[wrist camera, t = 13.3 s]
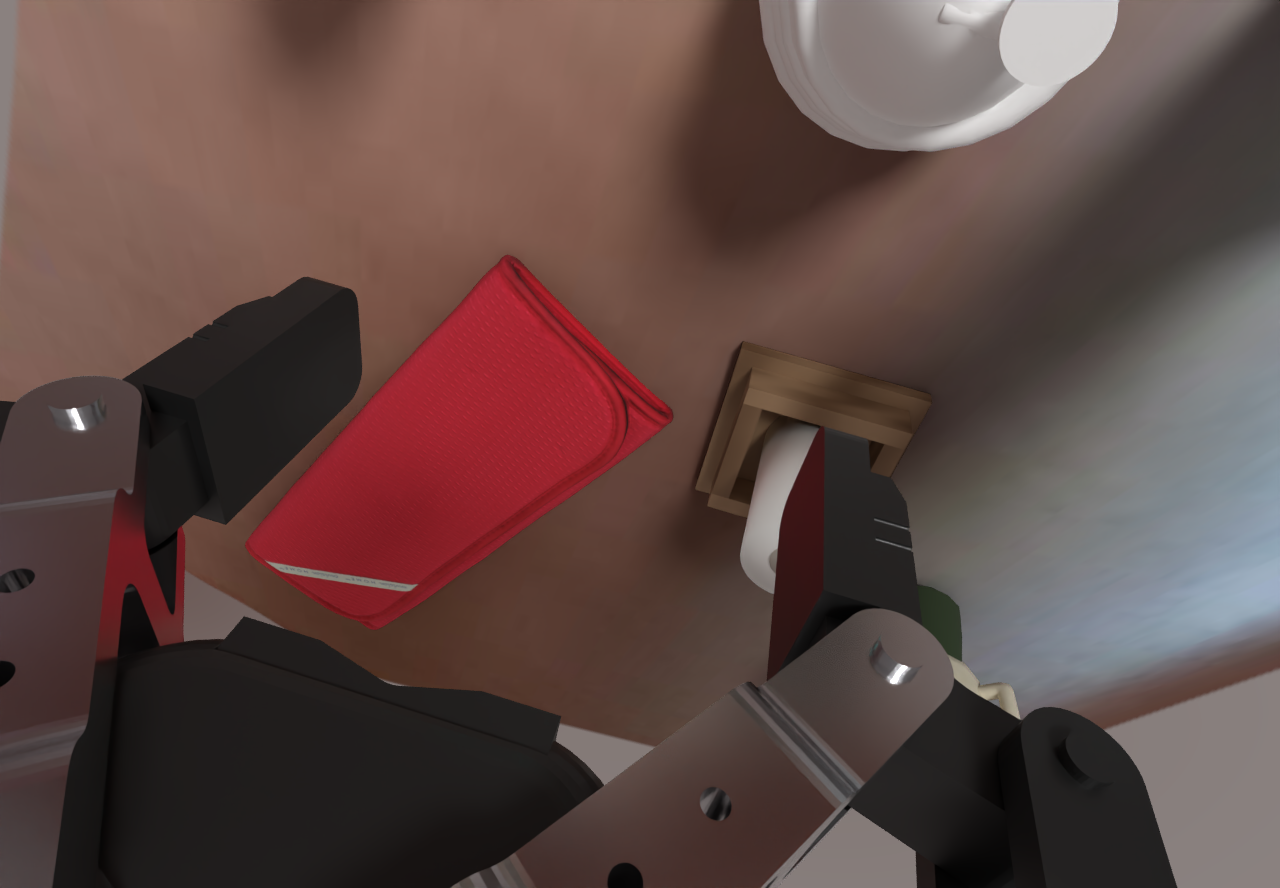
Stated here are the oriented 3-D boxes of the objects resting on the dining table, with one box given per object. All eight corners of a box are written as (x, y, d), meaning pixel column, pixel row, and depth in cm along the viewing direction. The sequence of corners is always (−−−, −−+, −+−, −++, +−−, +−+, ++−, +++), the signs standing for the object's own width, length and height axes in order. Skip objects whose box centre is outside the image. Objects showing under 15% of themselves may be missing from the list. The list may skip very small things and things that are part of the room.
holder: (930, 394, 43) (937, 425, 41) (856, 527, 51) (858, 562, 48) (743, 341, 44) (737, 368, 41) (697, 480, 51) (689, 512, 49)
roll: (860, 419, 44) (858, 538, 35) (840, 487, 47) (833, 611, 39) (772, 402, 45) (748, 513, 36) (758, 469, 48) (732, 587, 40)
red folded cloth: (681, 412, 49) (671, 443, 46) (392, 617, 71) (373, 647, 68) (511, 245, 44) (488, 268, 41) (259, 521, 66) (232, 549, 63)
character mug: (865, 649, 58) (872, 804, 48) (828, 593, 55) (828, 744, 45) (1004, 621, 53) (1046, 787, 43) (972, 557, 50) (1009, 719, 40)
